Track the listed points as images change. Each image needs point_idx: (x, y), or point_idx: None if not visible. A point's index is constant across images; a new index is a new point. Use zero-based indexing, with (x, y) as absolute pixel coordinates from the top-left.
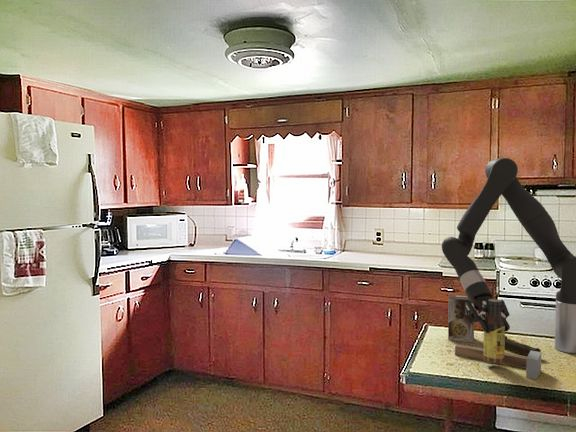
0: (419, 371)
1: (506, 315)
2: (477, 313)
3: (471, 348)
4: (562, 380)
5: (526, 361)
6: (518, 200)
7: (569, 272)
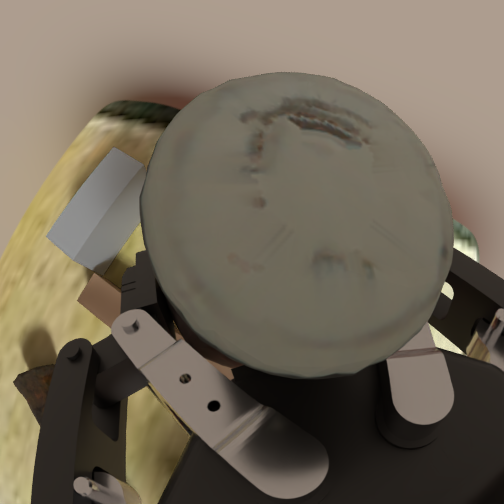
0: (460, 250)
1: (94, 348)
2: None
3: None
4: (64, 181)
5: (146, 172)
6: None
7: None
